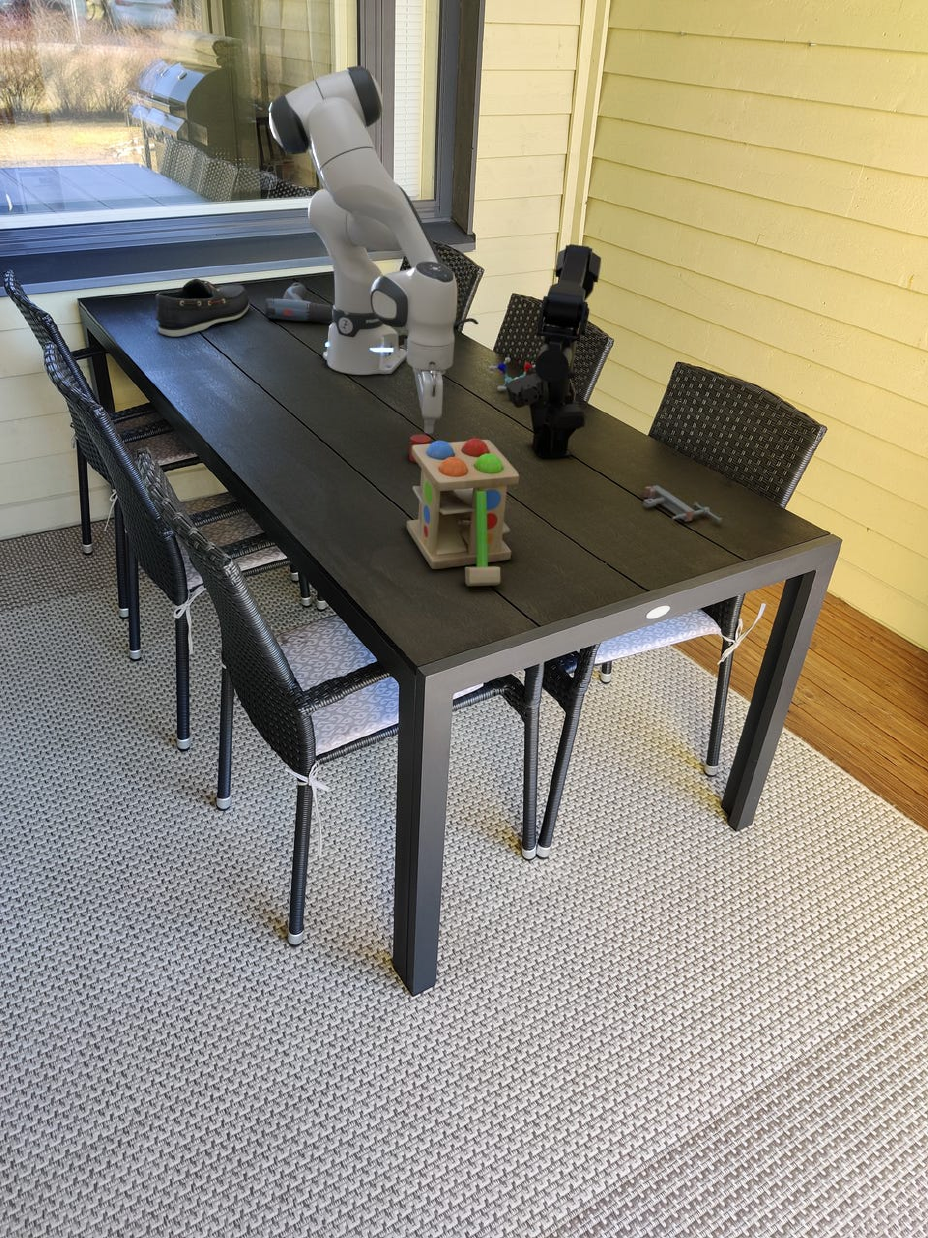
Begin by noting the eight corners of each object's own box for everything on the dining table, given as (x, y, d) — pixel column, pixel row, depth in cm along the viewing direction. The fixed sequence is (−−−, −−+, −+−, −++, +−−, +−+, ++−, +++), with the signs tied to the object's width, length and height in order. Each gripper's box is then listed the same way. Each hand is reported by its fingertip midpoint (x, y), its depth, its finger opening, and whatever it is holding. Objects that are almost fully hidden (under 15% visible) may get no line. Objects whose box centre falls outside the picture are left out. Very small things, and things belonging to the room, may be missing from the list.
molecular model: (534, 392, 222) (521, 349, 221) (497, 406, 226) (483, 364, 224) (547, 391, 232) (534, 350, 231) (510, 404, 236) (497, 364, 235)
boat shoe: (268, 313, 265) (265, 274, 259) (176, 339, 241) (172, 296, 236) (232, 304, 271) (230, 265, 265) (140, 328, 247) (135, 286, 241)
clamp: (632, 488, 188) (672, 480, 193) (630, 499, 190) (670, 490, 194) (684, 524, 178) (724, 515, 182) (681, 535, 179) (722, 525, 184)
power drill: (344, 304, 276) (335, 327, 259) (277, 298, 275) (264, 321, 258) (344, 285, 273) (335, 306, 256) (277, 279, 272) (264, 300, 255)
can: (422, 465, 195) (423, 444, 192) (405, 459, 196) (406, 438, 194) (433, 458, 198) (434, 437, 195) (416, 453, 199) (417, 432, 197)
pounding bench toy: (530, 586, 160) (545, 488, 150) (449, 597, 155) (458, 496, 145) (480, 519, 178) (490, 427, 168) (405, 527, 173) (411, 433, 163)
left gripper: (452, 374, 177) (447, 445, 185) (441, 335, 194) (437, 401, 202) (417, 373, 176) (414, 444, 184) (409, 334, 193) (407, 400, 201)
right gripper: (496, 346, 180) (488, 425, 189) (533, 384, 166) (522, 468, 174) (552, 345, 183) (542, 423, 192) (593, 382, 169) (579, 464, 178)
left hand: (426, 421), depth 193 cm, fingers open, 8 cm apart
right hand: (545, 443), depth 184 cm, fingers open, 9 cm apart
